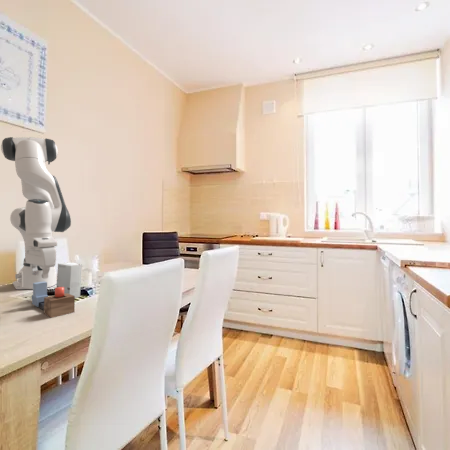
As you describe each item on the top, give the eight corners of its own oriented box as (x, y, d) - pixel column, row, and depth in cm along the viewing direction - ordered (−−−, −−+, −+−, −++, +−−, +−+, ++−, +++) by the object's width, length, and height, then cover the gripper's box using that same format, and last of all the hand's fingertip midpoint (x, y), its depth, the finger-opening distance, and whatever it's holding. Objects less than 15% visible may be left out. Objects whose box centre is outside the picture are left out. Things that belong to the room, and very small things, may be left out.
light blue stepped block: (31, 304, 115) (31, 282, 115) (43, 301, 118) (43, 280, 118) (36, 306, 112) (36, 284, 112) (48, 304, 115) (48, 282, 115)
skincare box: (55, 297, 127) (55, 263, 126) (67, 294, 132) (68, 261, 132) (70, 300, 124) (70, 265, 123) (81, 296, 129) (82, 263, 129)
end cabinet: (44, 313, 107) (44, 297, 106) (67, 308, 113) (67, 293, 113) (51, 317, 103) (51, 300, 103) (74, 312, 109) (74, 296, 109)
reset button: (53, 296, 107) (53, 287, 107) (62, 294, 110) (62, 286, 110) (57, 297, 106) (57, 289, 106) (65, 295, 108) (65, 287, 108)
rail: (34, 305, 116) (34, 300, 116) (40, 304, 117) (40, 299, 117) (48, 312, 108) (48, 307, 108) (54, 311, 109) (54, 306, 109)
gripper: (20, 240, 118) (20, 274, 118) (40, 243, 105) (41, 281, 105) (37, 239, 123) (38, 272, 123) (59, 241, 110) (60, 278, 110)
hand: (40, 276), depth 114 cm, fingers open, 8 cm apart
